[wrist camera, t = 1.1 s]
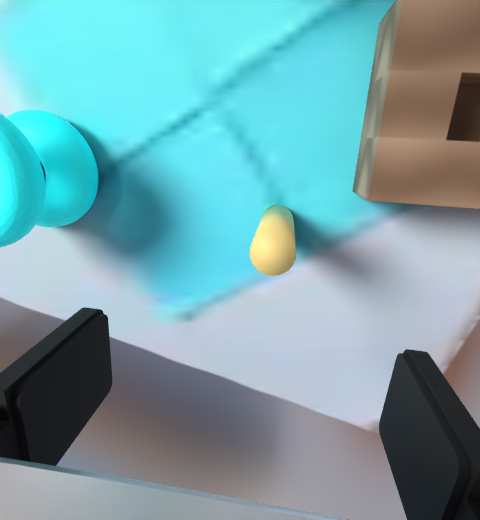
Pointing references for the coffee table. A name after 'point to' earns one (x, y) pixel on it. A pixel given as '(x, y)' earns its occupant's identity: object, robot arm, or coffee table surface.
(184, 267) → the coffee table surface
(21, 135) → the cyan round grooved piece
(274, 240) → the pin
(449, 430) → the robot arm
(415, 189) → the bore block
